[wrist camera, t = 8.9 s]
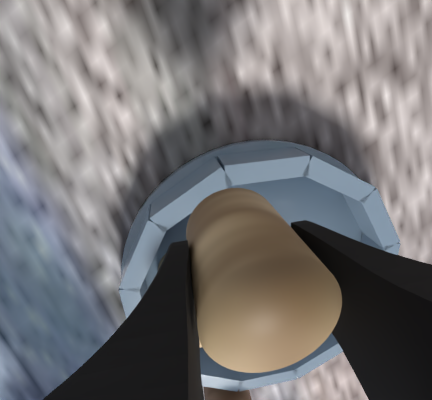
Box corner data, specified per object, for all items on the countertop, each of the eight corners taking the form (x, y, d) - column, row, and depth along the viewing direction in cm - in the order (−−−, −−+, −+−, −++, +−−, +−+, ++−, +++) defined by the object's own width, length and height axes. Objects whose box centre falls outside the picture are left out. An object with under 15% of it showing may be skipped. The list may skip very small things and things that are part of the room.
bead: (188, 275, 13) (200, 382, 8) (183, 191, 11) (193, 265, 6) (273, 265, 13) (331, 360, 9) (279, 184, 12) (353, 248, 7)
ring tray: (220, 386, 27) (228, 427, 24) (60, 253, 19) (39, 287, 16) (400, 274, 25) (434, 302, 22) (306, 74, 17) (338, 72, 14)
